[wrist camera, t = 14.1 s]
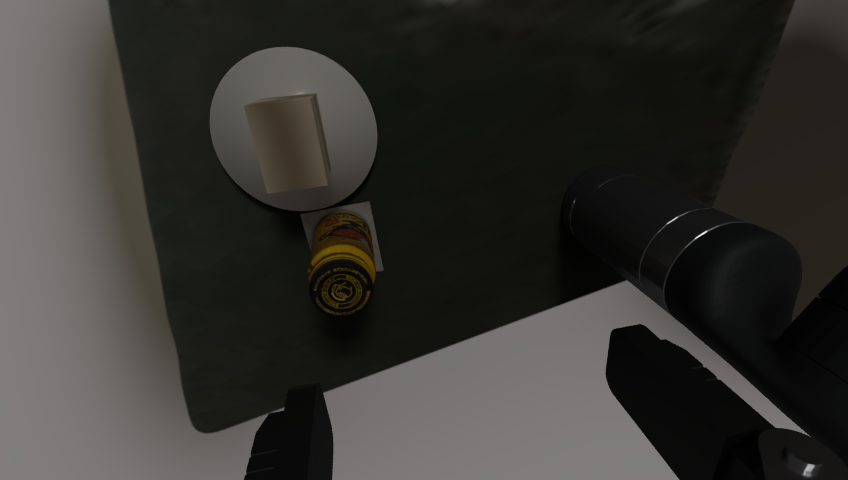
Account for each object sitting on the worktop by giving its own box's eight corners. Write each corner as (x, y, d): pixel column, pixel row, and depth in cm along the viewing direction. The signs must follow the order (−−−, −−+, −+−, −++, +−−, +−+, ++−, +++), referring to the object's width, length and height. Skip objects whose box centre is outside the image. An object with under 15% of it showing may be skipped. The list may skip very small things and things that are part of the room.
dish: (364, 39, 37) (364, 38, 36) (385, 196, 43) (386, 200, 42) (190, 55, 35) (185, 55, 34) (239, 216, 41) (236, 220, 40)
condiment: (369, 200, 43) (375, 248, 32) (383, 269, 47) (393, 333, 36) (300, 213, 42) (282, 266, 32) (319, 282, 46) (310, 351, 35)
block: (316, 92, 37) (310, 98, 31) (330, 168, 40) (327, 185, 34) (259, 98, 36) (243, 106, 31) (278, 175, 39) (267, 193, 34)
